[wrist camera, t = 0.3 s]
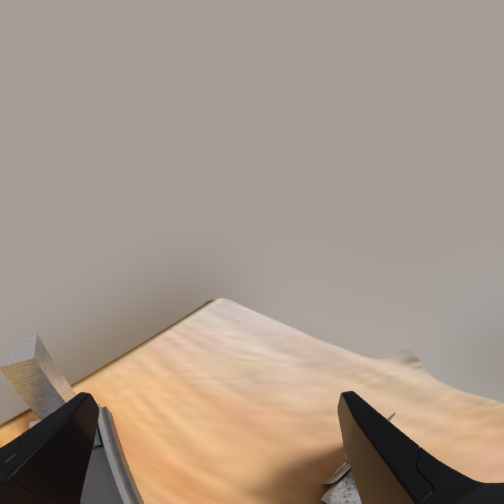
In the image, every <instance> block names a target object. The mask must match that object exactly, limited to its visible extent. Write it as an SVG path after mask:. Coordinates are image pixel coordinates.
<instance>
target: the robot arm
mask: <svg viewBox="0 0 504 504" xmlns="http://www.w3.org/2000/svg"><path fill="white" fill-rule="evenodd" d="M99 412H100V410H99V407H98V405H97V403H96V401H95V400H94V398H93V396H92V395H91V394H90V393H85V392H80V393H79V394H77V395H76V396H75V397H73V398H72V399H70V400H69V401H68V402H66V403H65V404H64V405H62V406H61V407H59V408H58V409H57V410H55V411H54V412H52V413H51V414H50V415H48V416H47V417H45V418H44V419H43V420H41V421H40V422H38V423H37V424H35V425H34V426H33V427H31V428H30V429H28V430H27V431H26V432H24V433H23V434H21V435H20V436H18V437H17V438H16V439H14V440H13V441H11V442H10V443H8V444H6V445H5V446H3V447H1V448H0V504H80V501H81V496H82V491H83V486H84V482H85V478H86V473H87V469H88V465H89V461H90V457H91V454H92V450H93V446H94V441H95V435H96V429H97V424H98V418H99ZM338 417H339V422H340V427H341V432H342V438H343V443H344V448H345V452H346V455H347V458H348V461H349V465H350V468H351V471H352V474H353V477H354V480H355V484H356V487H357V490H358V493H359V497H360V500H361V503H362V504H504V483H483V482H478V481H475V480H473V479H471V478H469V477H467V476H465V475H463V474H461V473H459V472H458V471H456V470H454V469H452V468H450V467H449V466H447V465H445V464H444V463H442V462H441V461H439V460H437V459H436V458H435V457H433V456H432V455H430V454H429V453H428V452H426V451H425V450H424V449H423V448H421V447H419V445H418V444H416V443H415V442H414V441H413V440H411V439H410V438H409V437H408V436H406V435H405V434H404V433H403V432H401V431H400V430H399V429H398V428H397V427H395V426H394V425H393V424H392V423H391V422H389V421H388V420H387V419H386V418H384V417H383V416H382V415H381V414H380V413H379V412H377V411H376V410H375V409H374V408H373V407H371V406H370V405H369V404H368V403H367V402H366V401H364V400H363V399H362V398H361V397H360V396H359V395H357V394H356V393H355V392H354V391H348V392H343V393H341V395H340V399H339V403H338Z"/></svg>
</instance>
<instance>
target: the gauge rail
mask: <svg viewBox="0 0 504 504" xmlns="http://www.w3.org/2000/svg"><path fill="white" fill-rule="evenodd" d="M98 407H99V410H100V412H99V418H98V424H97V430H98V434H99V438H100V441H101V445H97V446H93V450H92V454H91V457H90V461H89V465H88V469H87V473H86V478H85V482H84V486H83V491H82V496H81V501H80V504H144V502H143V500H142V498H141V496H140V493H139V491H138V489H137V486H136V484H135V482H134V479H133V477H132V474H131V472H130V469H129V466H128V464H127V461H126V458H125V455H124V452H123V449H122V447H121V443H120V440H119V437H118V434H117V431H116V427H115V424H114V420H113V417H112V414H111V413H110V411H109V410H108V408H107V407H103V408H102V407H101V405H100V404H98Z"/></svg>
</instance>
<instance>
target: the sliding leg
mask: <svg viewBox="0 0 504 504" xmlns="http://www.w3.org/2000/svg"><path fill="white" fill-rule="evenodd" d="M0 369H1V371H2V372H3V373H4V375H5V376H6V378H7V379H8V380H9V382H10V383H11V384H12V386H13V387H14V388H15V389H16V391H17V392H18V393H19V394H20V396H21V397H22V398H23V399H24V401H25V402H26V403H27V404H28V405H29V406H30V408H31V409H32V410H33V411H34V412H35V413H36V414H37V415H38V416H39V418H40V419H41V420H43V419H44V418H45V417H47V416H48V415H50V414H51V413H52V412H54V411H55V410H57V409H58V408H59V407H61V406H62V405H64V404H65V403H66V402H68V401H69V400H70V399H72V398H73V397H75V396H76V394H75V392H74V391H73V390H72V388H71V387H70V385H69V384H68V383H67V381H66V380H65V378H64V377H63V375H62V374H61V372H60V371H59V369H58V368H57V366H56V365H55V363H54V361H53V360H52V358H51V356H50V355H49V353H48V351H47V350H46V348H45V346H44V345H43V343H42V341H41V339H40V337H39V336H38V334H37V333H36V334H32V335H29V336H26V337H22V338H19V339H16V340H13V341H9V342H5V343H4V347H3V352H2V356H1V361H0ZM41 420H38V421H33V422H29V426H30V428H31V427H33V426H34V425H35V424H37V423H38V422H40V421H41ZM97 445H101V441H100V438H99V434H98V430H97V429H96V435H95V441H94V446H97Z"/></svg>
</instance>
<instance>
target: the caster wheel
mask: <svg viewBox="0 0 504 504" xmlns="http://www.w3.org/2000/svg"><path fill="white" fill-rule="evenodd" d="M394 415H395V413H393V414H392V415H391V416H390V417H389V418H388V419H387V420H388V421H389V422H390V420H391V419H392V418H393V416H394ZM334 482H335V483H334ZM329 483H334V484H333V485H332V486H331V487H330V488H329V489H328V490H327V491H326V493H325V494H324V495H323V497H322V498H321V502H323V503H324V504H362V503H361V500H360V497H359V493H358V490H357V487H356V484H355V480H354V477H353V474H352V471H351V468H350V465H349V461H348V458H347V455H346V456H345V462H344V463H343V464H342V465H341V466H340V467H339V468H338V469H337V470H336V471H335V472H334V473H333V474H332V475H331V476H330V477H329V478H328V479H327V480H325V481H324V482H323V483H322V484H329Z"/></svg>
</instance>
